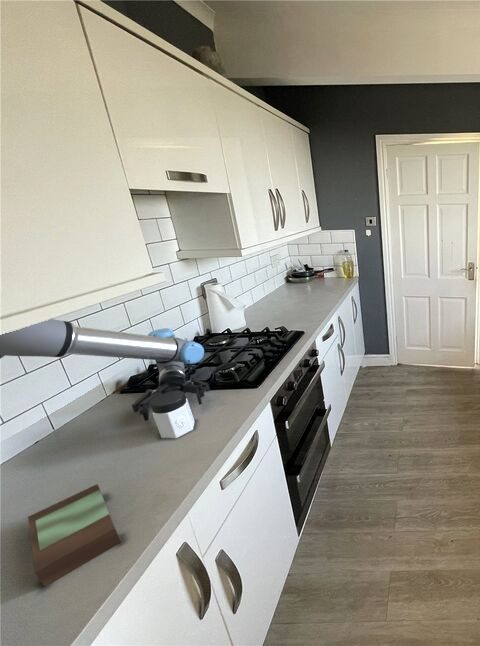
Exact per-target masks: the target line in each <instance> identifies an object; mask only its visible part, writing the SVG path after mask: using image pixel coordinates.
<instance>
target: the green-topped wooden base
mask: <svg viewBox="0 0 480 646" xmlns="http://www.w3.org/2000/svg"><path fill="white" fill-rule="evenodd" d="M27 522H28V529H29V530H28V531H29V536H30V537H29V538H30V546H31V553H32V560H33V569H34V574H35V575H36V577H37V578H38V580H39V581H40V583H41V584H42V585H43V588H46V587H48V586H50V585H51V584H53V583H54V582H56V581H58V580H59V579H61V578H63V577H65V576H66V575H68V574H70V573H71V572H74V571H75V570H77V569H78V568H81V567H82V566H84V565H86V564H87V563H88V562H90V561H92V560H94V559H96V558H97V557H99V556H100V555H102V554H104V553H106V552H107V551H110V550H111V549H112V548H114V547H117V546H118V545H119V544H121V543H122V539H121V536H120V535H119V533H118V531H117V528H116V526H115V524H114V521H113V519H112V516H111V513H110V511H109V508H108V505H107V504H106V499H105V496H104V494H103V492H102V490H101V488H100V486H99V484H98V483H96V484H94V485H92V486H90V487H88V488H85V489H84V490H81V491H79V492H77V493H75V494H73V495H71V496H69V497H67V498H65V499H62V500H60V501H58V502H56V503H54V504H52V505H50V506H48V507H46V508H43V509H41V510H39V511H37V512H35V513H33V514H30V515H29V516H27Z"/></svg>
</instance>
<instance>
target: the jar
mask: <svg viewBox="0 0 480 646" xmlns="http://www.w3.org/2000/svg"><path fill="white" fill-rule="evenodd" d="M150 404H151V407H150V408H151V409H152V417H153V419H154V422H155V425H156V427H157V430H158V432H159V435H160V438H161V439H177V438H179V437H182V436H183V435H186V434H187V433H189V432H191V431H193V430H194V426H195V422H196V421H195V419H194V415H193V413H192V410H191V406H190V403H189V400H188V398H187V397H186V393H184V392H182V391H171V392H167V393H164V394H161V395H159V396H157V397H155V398H154V399H153V400H152V401H151V403H150Z"/></svg>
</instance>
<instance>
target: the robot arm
mask: <svg viewBox="0 0 480 646" xmlns="http://www.w3.org/2000/svg"><path fill="white" fill-rule="evenodd" d="M204 354H205V349H204V346H202V344H200V343H199V342H196V341H192V340H187V339H182V338H181V337H180V338H179V337H176V336H175V333H174V330H172V329H171V328H167V327H166V328H158V329H155V330H152V331H150V332H149V333H148V334H138V333H131V332H124V331H123V332H122V331H114V330H106V329H99V328H92V327H85V326H83V327H82V326H76V325H74V324H73V322H71V321H67V320H61V319H60V320H59V319H55V318H51V319H50V320H48V321H44V322H41V323H38V324H34V325H31V326H29V327H25V328H22V329H20V330H16V331H13V332H9V333H5V334H2V335H0V360H1V359H2V358H3V357H5V356H7V357H39V358H40V357H41V358H42V357H44V358H64V357H65V356H67V355H76V356H77V355H78V356H88V357H89V356H92V357H103V358H104V357H105V358H121V359H134V360H148V361H149V360H150V361H151V360H152V361H155V364H156V366H157V369H158V387H157V388H156V389H151V388H148V389H146V390H145V392H144V393H143V394H142V395H141V396H140V397H139V398H138V399H136V401H134V402H133V403H132V404H131V408H132V410H133V412H134V413H139V415H140V416H142V417H143V420H144V422H147V421H149V417H150V409H149V408H152V407H151V404H150V403H151V401H152V400H153V399H154V398H155V397H157V396H159V395H161V394H164V393H167V392H171V391H182V392H184V394H186V393H189V394H190V393H191V394H196V400H197V403H198V405H199V406H200V405H203V402H202V398H204V397H205V393H207V392H208V393H209V392H210V391H211V388H210V384H209V383H208V382H205V381H202V380H199V379H197V378H196V376H193V377H190V380H187V379H186V372H185V367H186V366H185V364H187V365H195V364H197V363H199V362H200V361H202V359H203V358H204Z"/></svg>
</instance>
